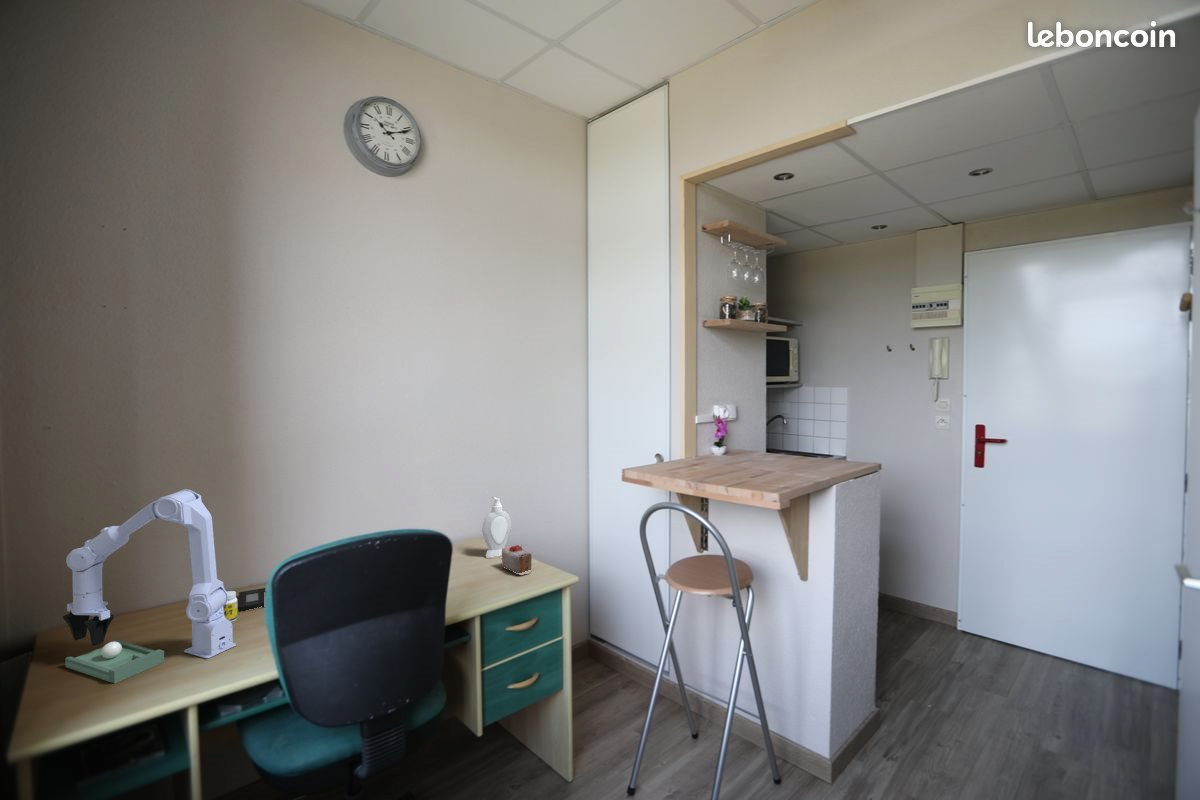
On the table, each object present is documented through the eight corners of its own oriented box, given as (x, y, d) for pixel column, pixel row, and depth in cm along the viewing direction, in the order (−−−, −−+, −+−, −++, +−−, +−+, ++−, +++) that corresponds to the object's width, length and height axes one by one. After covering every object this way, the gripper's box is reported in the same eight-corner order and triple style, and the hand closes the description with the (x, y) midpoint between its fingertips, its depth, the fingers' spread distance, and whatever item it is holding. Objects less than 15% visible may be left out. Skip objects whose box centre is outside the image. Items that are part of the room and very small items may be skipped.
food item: (498, 568, 218) (498, 543, 218) (515, 563, 223) (515, 539, 223) (517, 577, 208) (517, 551, 207) (535, 573, 213) (535, 547, 213)
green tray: (164, 661, 144) (164, 650, 144) (114, 683, 134) (114, 671, 133) (116, 647, 151) (116, 636, 151) (65, 667, 141) (65, 655, 141)
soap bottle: (506, 550, 240) (506, 494, 239) (513, 555, 233) (514, 498, 232) (477, 555, 233) (478, 497, 232) (484, 560, 226) (484, 501, 225)
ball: (125, 655, 144) (125, 640, 144) (107, 662, 140) (106, 647, 140) (116, 652, 145) (115, 637, 145) (97, 659, 142) (97, 644, 141)
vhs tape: (265, 593, 190) (265, 587, 190) (266, 608, 178) (266, 602, 178) (239, 597, 186) (239, 592, 186) (238, 613, 174) (238, 607, 174)
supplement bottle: (216, 624, 165) (215, 597, 165) (222, 618, 170) (221, 591, 170) (234, 622, 167) (234, 595, 166) (239, 616, 171) (239, 589, 171)
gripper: (123, 589, 147) (124, 639, 147) (89, 581, 152) (90, 630, 152) (91, 599, 140) (92, 651, 141) (56, 590, 145) (57, 641, 146)
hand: (88, 641), depth 146 cm, fingers open, 7 cm apart
